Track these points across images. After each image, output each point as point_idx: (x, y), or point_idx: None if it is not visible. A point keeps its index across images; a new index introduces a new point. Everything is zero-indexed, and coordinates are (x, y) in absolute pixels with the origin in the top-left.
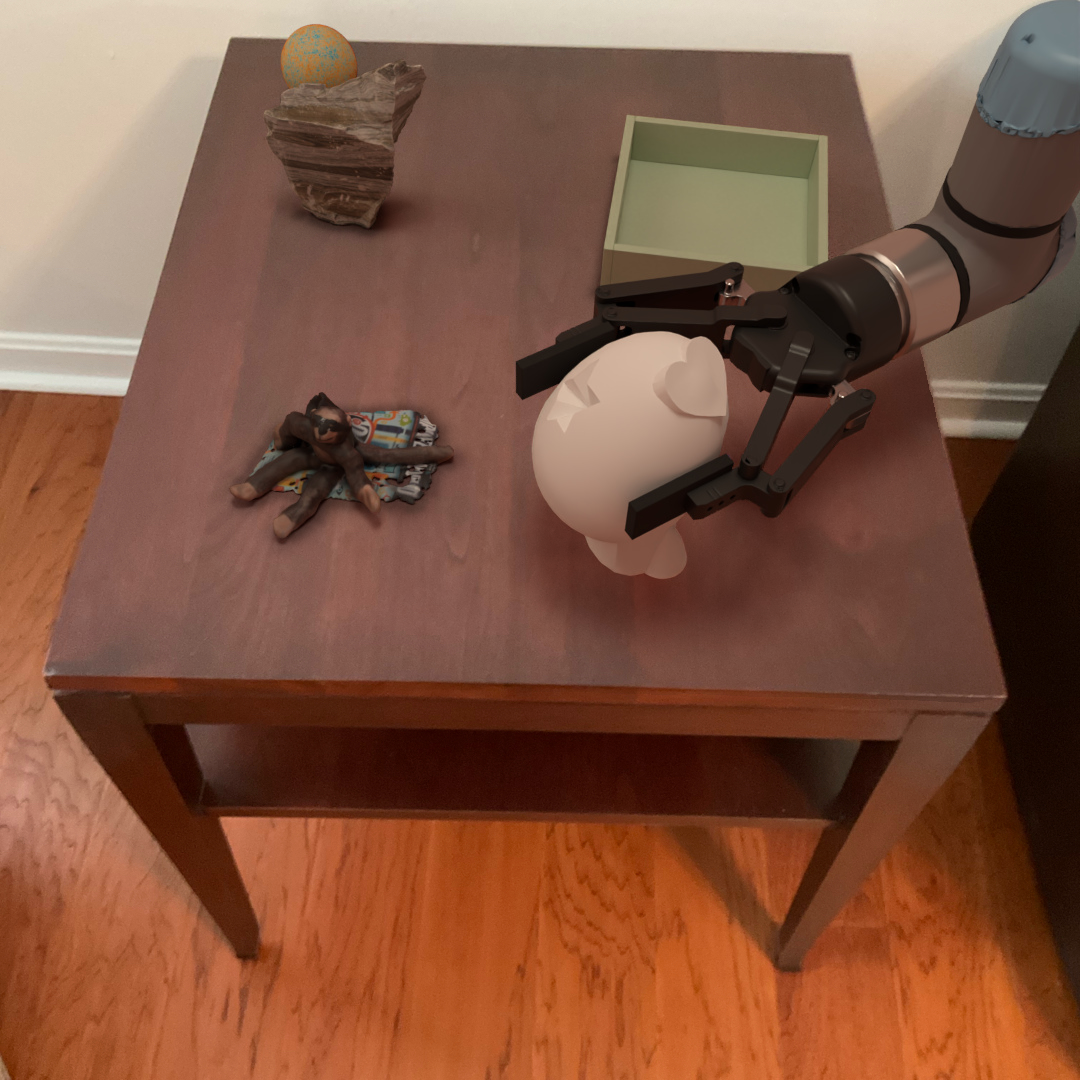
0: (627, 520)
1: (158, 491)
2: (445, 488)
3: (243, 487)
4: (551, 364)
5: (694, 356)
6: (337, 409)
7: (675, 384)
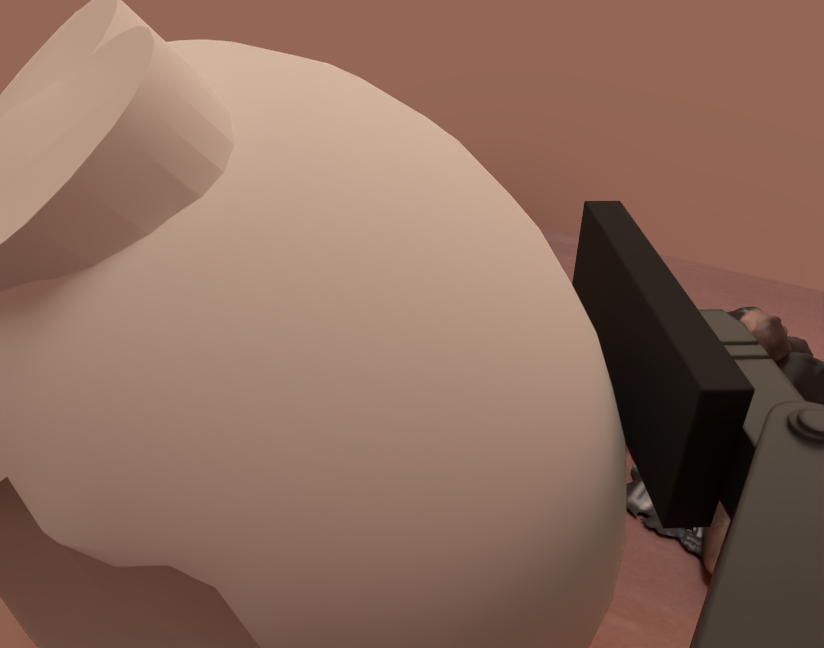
0: None
1: (719, 297)
2: (638, 550)
3: None
4: (605, 276)
5: (98, 77)
6: (769, 331)
7: (61, 43)
